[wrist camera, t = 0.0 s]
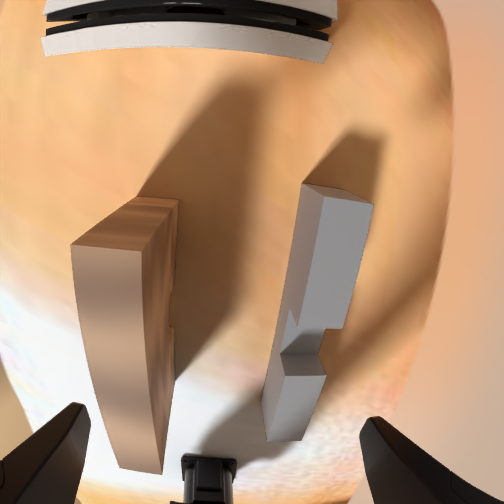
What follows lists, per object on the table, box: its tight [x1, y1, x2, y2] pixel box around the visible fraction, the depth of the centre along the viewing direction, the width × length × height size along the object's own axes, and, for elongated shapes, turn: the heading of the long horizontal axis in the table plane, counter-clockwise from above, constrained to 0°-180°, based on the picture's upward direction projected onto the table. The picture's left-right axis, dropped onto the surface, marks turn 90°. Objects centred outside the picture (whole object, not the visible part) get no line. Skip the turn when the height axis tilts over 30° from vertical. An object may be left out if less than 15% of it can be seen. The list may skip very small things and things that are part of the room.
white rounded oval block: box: [41, 0, 338, 63], centre depth 13 cm, size 17×5×10 cm, turn 83°
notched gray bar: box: [261, 183, 374, 442], centre depth 22 cm, size 20×3×5 cm, turn 173°
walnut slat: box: [70, 196, 179, 475], centre depth 18 cm, size 16×3×10 cm, turn 173°
